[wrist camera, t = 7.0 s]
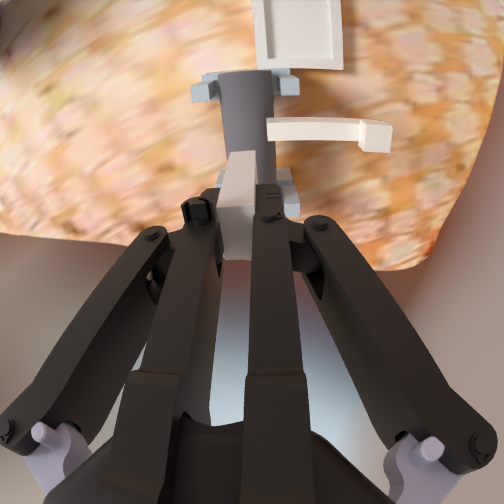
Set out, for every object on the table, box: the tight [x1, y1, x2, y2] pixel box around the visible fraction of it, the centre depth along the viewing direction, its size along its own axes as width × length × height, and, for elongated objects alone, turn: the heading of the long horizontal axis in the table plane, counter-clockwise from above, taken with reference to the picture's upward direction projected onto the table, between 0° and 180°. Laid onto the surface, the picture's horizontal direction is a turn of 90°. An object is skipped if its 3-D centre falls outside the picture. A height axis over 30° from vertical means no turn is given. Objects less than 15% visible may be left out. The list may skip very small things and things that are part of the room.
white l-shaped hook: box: [266, 117, 393, 153], centre depth 22 cm, size 2×10×4 cm, turn 94°
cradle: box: [190, 68, 300, 217], centre depth 29 cm, size 16×10×8 cm, turn 4°
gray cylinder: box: [218, 70, 277, 184], centre depth 28 cm, size 16×5×5 cm, turn 4°
